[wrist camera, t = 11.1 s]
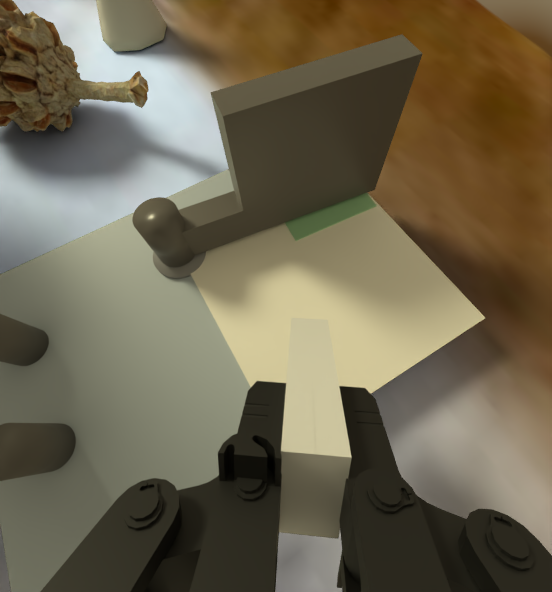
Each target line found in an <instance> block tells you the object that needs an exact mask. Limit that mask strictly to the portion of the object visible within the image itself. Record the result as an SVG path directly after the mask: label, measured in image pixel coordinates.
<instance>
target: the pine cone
mask: <svg viewBox="0 0 552 592" xmlns="http://www.w3.org/2000/svg"><path fill="white" fill-rule="evenodd" d="M74 61H75V57H74V52H73V51H72V49H71V48H70V47H68V46H66V45H63V44H62V42H61V40H60V37H59V34H58V32H57V30H56V28H55V26H54V24H53V23H51V22H48V21H46V20H45V19H43V18H41V17H39V16H38V15H37V14H35V13H34V12H31V13H29V14H27V13H26V14H25V16H24V15H23V13H22V12H21V11H20V9H19V8H18V7H17V5H16V4H15V3H14V2H13V1H12V0H0V127H2V126H7V125H8V124H9V122H11V121H12V120H13V121H15V122H16V123H17V124H18V125H19V127H20V128H21V129H22V130H23V131H25V132H26V131H30V130H35V131H37V132H38V131H39V130H42V131H44V130H45V129H46V128H47V127H48V125H49V124H52V125H54V126H55V127H56V128H57V129H58V130H60V131H62V132H63V131H64V129H65V128H66V127H70V126H71V125H72V122H73V120H72V115H71V109H72V108H74V107H75V106H76V107H78V106H79V104H80V102H79V100H80V99H84V100H85V99H93V100H103V101H117V102H123V103H124V102H131V103H133V102H134V103H135V105H137V106H139V107H141V108H142V107H143V106H144V104H145V102H146V101H147V92H148V85H147V81H146V80H145V79H144V78H143V77H142V76H141V74H140V71H138V72H137V73H135V75H134V76H133V77H132V78H131V79H130V80H129V81H126V82H114V83H106V82H98V83H95V82H91V81H83V80H81V79H80V73H78V72H77V71H76V70H77V67H78V65H77V63H76V62H74Z"/></svg>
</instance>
